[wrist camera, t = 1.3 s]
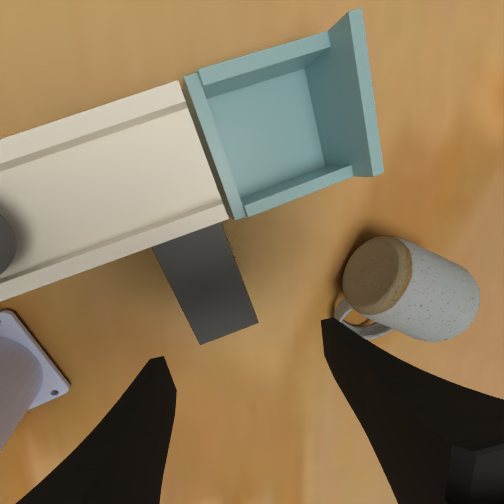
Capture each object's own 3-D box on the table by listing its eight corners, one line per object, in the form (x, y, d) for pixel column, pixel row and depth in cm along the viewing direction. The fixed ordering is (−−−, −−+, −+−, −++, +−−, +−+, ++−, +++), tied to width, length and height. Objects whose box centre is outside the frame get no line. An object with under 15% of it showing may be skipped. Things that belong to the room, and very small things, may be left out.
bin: (226, 213, 21) (244, 228, 15) (182, 94, 18) (184, 58, 12) (332, 172, 22) (383, 172, 17) (308, 55, 19) (361, 7, 14)
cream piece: (64, 387, 17) (31, 439, 14) (-95, 188, 13) (-200, 196, 9) (262, 311, 18) (274, 344, 15) (182, 94, 13) (175, 72, 10)
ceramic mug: (360, 222, 24) (434, 245, 17) (419, 251, 27) (503, 280, 20) (310, 320, 26) (358, 377, 19) (370, 338, 29) (431, 393, 22)
